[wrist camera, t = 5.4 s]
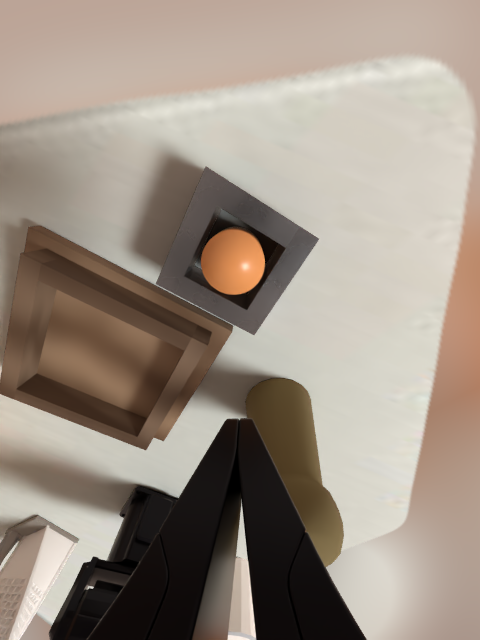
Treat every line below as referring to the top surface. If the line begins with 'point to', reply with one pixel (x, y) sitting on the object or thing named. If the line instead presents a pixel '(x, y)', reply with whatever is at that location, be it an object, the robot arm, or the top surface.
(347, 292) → the top surface
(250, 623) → the shot glass
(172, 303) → the wooden serving tray
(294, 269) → the button housing
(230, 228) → the button
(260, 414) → the cork
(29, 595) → the skyscraper
